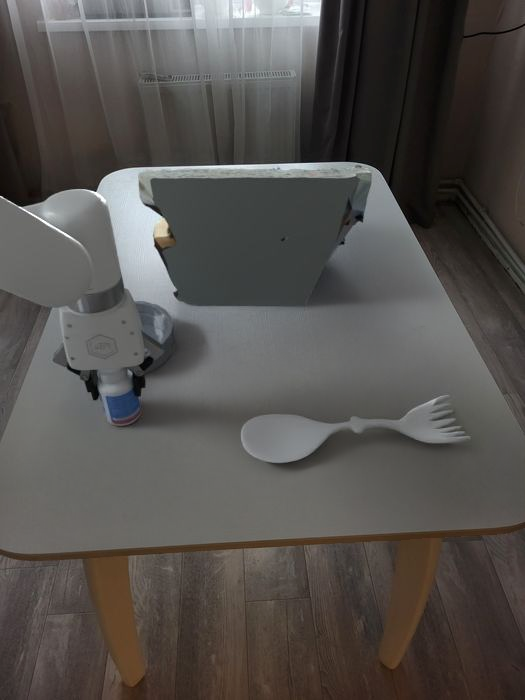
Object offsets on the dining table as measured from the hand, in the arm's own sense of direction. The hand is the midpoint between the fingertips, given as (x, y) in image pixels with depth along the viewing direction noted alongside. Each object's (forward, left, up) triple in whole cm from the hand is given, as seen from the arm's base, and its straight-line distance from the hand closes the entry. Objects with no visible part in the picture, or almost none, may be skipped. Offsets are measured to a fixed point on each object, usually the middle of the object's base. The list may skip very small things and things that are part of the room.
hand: (117, 391), depth 82 cm
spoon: (+27, -22, -5) cm, 35 cm away
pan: (+7, +14, -5) cm, 17 cm away
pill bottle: (0, 0, -5) cm, 5 cm away
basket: (+39, +24, -5) cm, 46 cm away
